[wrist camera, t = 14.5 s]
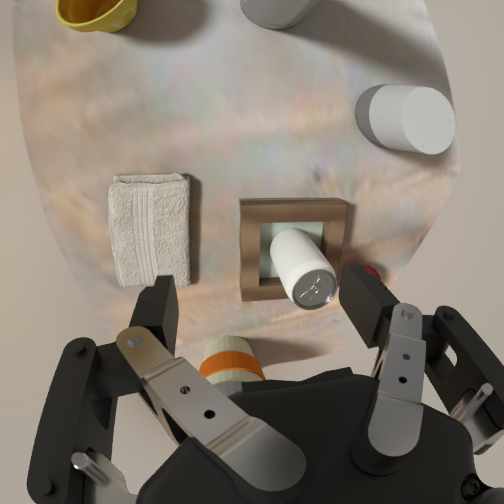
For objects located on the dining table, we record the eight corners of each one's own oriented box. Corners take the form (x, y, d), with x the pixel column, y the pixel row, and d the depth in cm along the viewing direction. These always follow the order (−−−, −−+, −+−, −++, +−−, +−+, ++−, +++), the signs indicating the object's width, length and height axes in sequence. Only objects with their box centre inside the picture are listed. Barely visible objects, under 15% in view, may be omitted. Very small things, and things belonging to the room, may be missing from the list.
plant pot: (163, 17, 27) (149, -10, 18) (98, 57, 28) (68, 43, 19) (135, -25, 22) (119, -55, 13) (75, 13, 23) (45, -6, 14)
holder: (239, 198, 40) (241, 205, 37) (337, 198, 42) (347, 204, 39) (239, 289, 46) (242, 301, 43) (326, 282, 48) (334, 293, 45)
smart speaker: (359, 76, 34) (417, 65, 21) (405, 103, 36) (467, 107, 23) (340, 130, 37) (396, 139, 25) (388, 154, 39) (448, 173, 27)
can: (318, 244, 44) (350, 285, 33) (290, 273, 45) (313, 321, 34) (289, 218, 41) (317, 255, 30) (260, 250, 43) (276, 296, 32)
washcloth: (191, 169, 38) (189, 173, 35) (193, 282, 45) (192, 292, 43) (110, 172, 36) (103, 177, 33) (123, 281, 44) (118, 292, 41)
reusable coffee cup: (258, 371, 56) (271, 430, 43) (198, 373, 54) (199, 435, 41) (262, 326, 51) (279, 391, 37) (192, 329, 49) (190, 396, 35)
